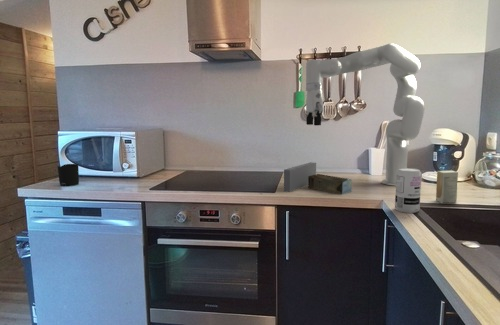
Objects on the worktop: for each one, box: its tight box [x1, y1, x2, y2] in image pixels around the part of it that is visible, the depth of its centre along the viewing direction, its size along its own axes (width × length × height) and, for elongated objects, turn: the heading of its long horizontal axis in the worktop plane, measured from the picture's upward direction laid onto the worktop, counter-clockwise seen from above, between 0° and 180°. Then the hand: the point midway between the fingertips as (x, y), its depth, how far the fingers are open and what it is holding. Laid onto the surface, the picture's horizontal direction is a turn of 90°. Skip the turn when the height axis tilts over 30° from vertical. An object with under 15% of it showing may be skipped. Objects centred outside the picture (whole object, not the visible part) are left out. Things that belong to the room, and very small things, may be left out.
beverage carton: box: [307, 173, 353, 195], centre depth 166 cm, size 8×19×7 cm, turn 43°
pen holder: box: [56, 163, 80, 187], centre depth 182 cm, size 9×9×10 cm
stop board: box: [283, 161, 317, 193], centre depth 174 cm, size 3×28×10 cm, turn 145°
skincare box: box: [435, 170, 459, 204], centre depth 143 cm, size 6×4×12 cm
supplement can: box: [394, 167, 423, 214], centre depth 130 cm, size 8×8×15 cm
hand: (313, 125), depth 168 cm, fingers open, 9 cm apart
